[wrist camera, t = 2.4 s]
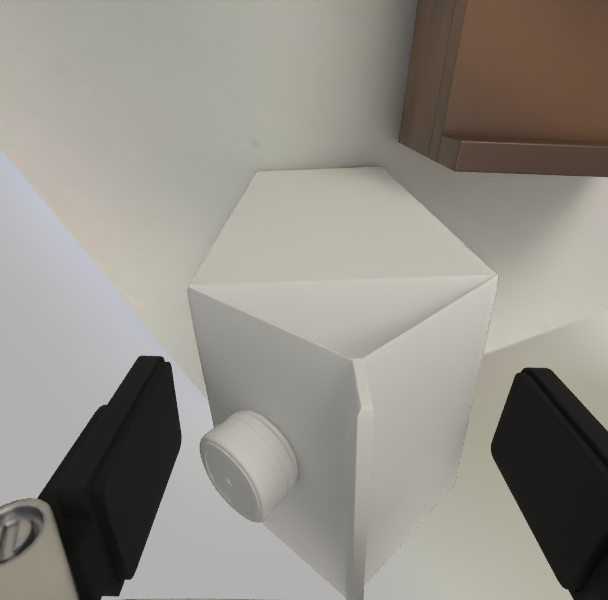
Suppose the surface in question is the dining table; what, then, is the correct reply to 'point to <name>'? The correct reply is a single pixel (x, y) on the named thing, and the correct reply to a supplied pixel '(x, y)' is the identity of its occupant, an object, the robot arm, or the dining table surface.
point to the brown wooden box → (510, 86)
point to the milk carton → (338, 362)
